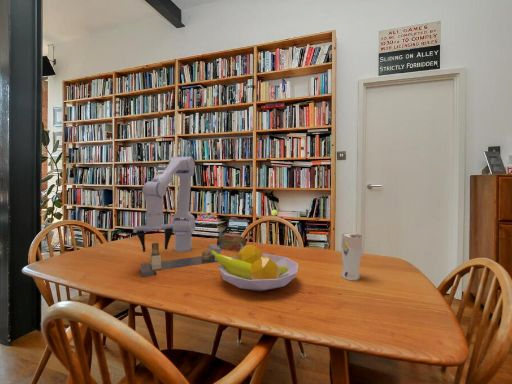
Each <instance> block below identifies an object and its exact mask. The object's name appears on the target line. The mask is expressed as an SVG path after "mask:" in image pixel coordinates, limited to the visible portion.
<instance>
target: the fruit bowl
mask: <svg viewBox="0 0 512 384" xmlns="http://www.w3.org/2000/svg"><path fill="white" fill-rule="evenodd" d="M211 253H212V254H213V255H214V256H215V259H216V260H217V261H218V262H217V263H218V264H219V265H218V266H217V268H218V271H219V272H220V274H221V276H222V278H223V281H225V282H227V283H229V284H231V285H233V286H235V287H237V288H239V289H245V290H250V291H258V292H264V291H265V292H266V291H268V290H272V289H278V288H282V287H283V288H284V287H285V286H288V284H289V283H290V282H291V281H293V279H295V278H296V276H297V274H298V269H299V268H298V267H299V263H298V262H296V261H294V260H292V259H291V258H288V257H286V256H282V255H275V254H271V253H270V254H269V253H263V252H262V250H261V249H260V248H259V247H257V246H256V245H251V244H247V245H245V246H244V247H243V248H242V249H240V251H239V252H238V253H237V254H236V255H235V256H232V257H231V256H228V255H224V254H222V253H221V254H217V253H216V252H215V251H214V250H212V251H211Z"/></svg>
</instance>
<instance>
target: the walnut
mask: <svg viewBox="0 0 512 384" xmlns="http://www.w3.org/2000/svg"><path fill="white" fill-rule="evenodd" d="M201 256H202V260H204V261H208V260H211V252H210V251H209V249H205V250H203V251H202V252H201Z"/></svg>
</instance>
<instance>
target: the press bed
mask: <svg viewBox="0 0 512 384" xmlns="http://www.w3.org/2000/svg"><path fill="white" fill-rule="evenodd" d="M208 250H209V251H210V252H211V251H212V250H214V251H215V252H216V253H217V254H221V255H222V251H221V250H222V249H221V248H220V247H218V246H217V243H209V244H208ZM213 263H219V262H218V261H217V260H216V259H215V256H214V255H213V254H212V253H211V260H208V261H204V260H202V255H200V256H193V257H186V258H178V259H170V260H161V269H156V270H152V267H151V264H150V262H148V263H147V262H146V263H140V266H139V267H140V274H141V277H142V278H143V277H149V276H155V275H158V274H157V271H164V270H170V269H176V268H177V269H178V268H185V267H193V266H198V265H206V264H207V265H208V264H213Z"/></svg>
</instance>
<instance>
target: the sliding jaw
mask: <svg viewBox="0 0 512 384" xmlns="http://www.w3.org/2000/svg"><path fill="white" fill-rule="evenodd" d="M159 244H160V243H159V242H153V243H151V251H150V252H149V256H150V257H149V259H150V262H149V263H150V264H151V267H152V270H156V269H161V261H162V255H161V253H160V251H159V250H160V248H159V247H160V245H159Z"/></svg>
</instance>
